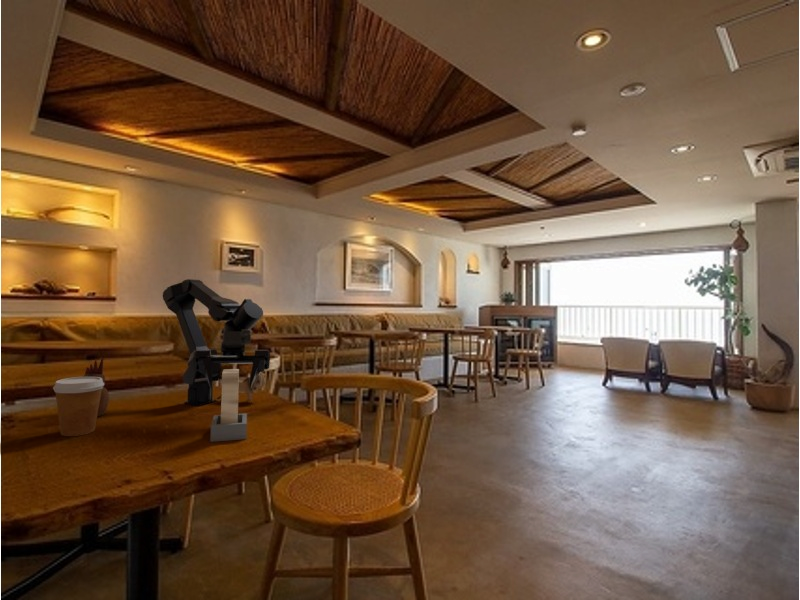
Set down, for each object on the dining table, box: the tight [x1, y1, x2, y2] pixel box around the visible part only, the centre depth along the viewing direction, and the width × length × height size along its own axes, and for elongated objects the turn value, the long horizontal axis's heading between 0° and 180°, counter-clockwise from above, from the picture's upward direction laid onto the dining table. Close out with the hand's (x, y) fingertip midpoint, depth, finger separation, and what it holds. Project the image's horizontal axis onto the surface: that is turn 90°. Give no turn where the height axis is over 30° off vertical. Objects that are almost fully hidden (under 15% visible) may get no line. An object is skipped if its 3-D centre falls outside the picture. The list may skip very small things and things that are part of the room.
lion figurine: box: [216, 372, 267, 402], centre depth 132 cm, size 15×5×9 cm, turn 95°
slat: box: [220, 368, 240, 424], centre depth 100 cm, size 5×4×14 cm
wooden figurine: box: [82, 358, 110, 418], centre depth 111 cm, size 7×6×15 cm
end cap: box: [209, 412, 248, 442], centre depth 100 cm, size 9×8×4 cm
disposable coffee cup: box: [52, 376, 105, 437], centre depth 99 cm, size 10×10×12 cm
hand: (231, 387), depth 108 cm, fingers open, 9 cm apart
